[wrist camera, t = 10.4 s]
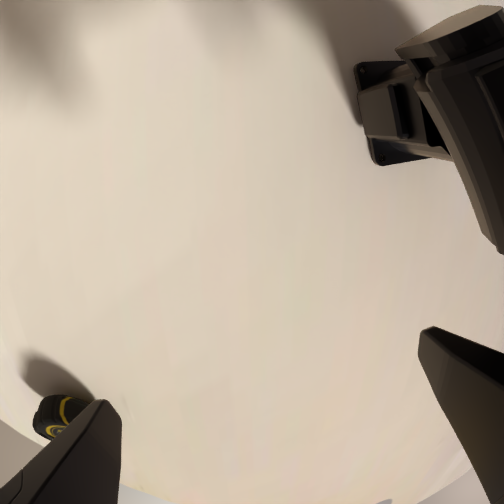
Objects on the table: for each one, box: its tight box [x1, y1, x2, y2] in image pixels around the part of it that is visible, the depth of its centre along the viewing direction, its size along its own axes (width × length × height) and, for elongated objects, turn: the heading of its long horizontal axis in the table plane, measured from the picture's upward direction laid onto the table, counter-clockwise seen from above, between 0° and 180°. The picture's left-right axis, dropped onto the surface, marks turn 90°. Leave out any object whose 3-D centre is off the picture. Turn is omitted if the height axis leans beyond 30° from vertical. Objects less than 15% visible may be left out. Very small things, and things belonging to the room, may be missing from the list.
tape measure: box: [33, 395, 89, 441], centre depth 21 cm, size 7×7×4 cm
